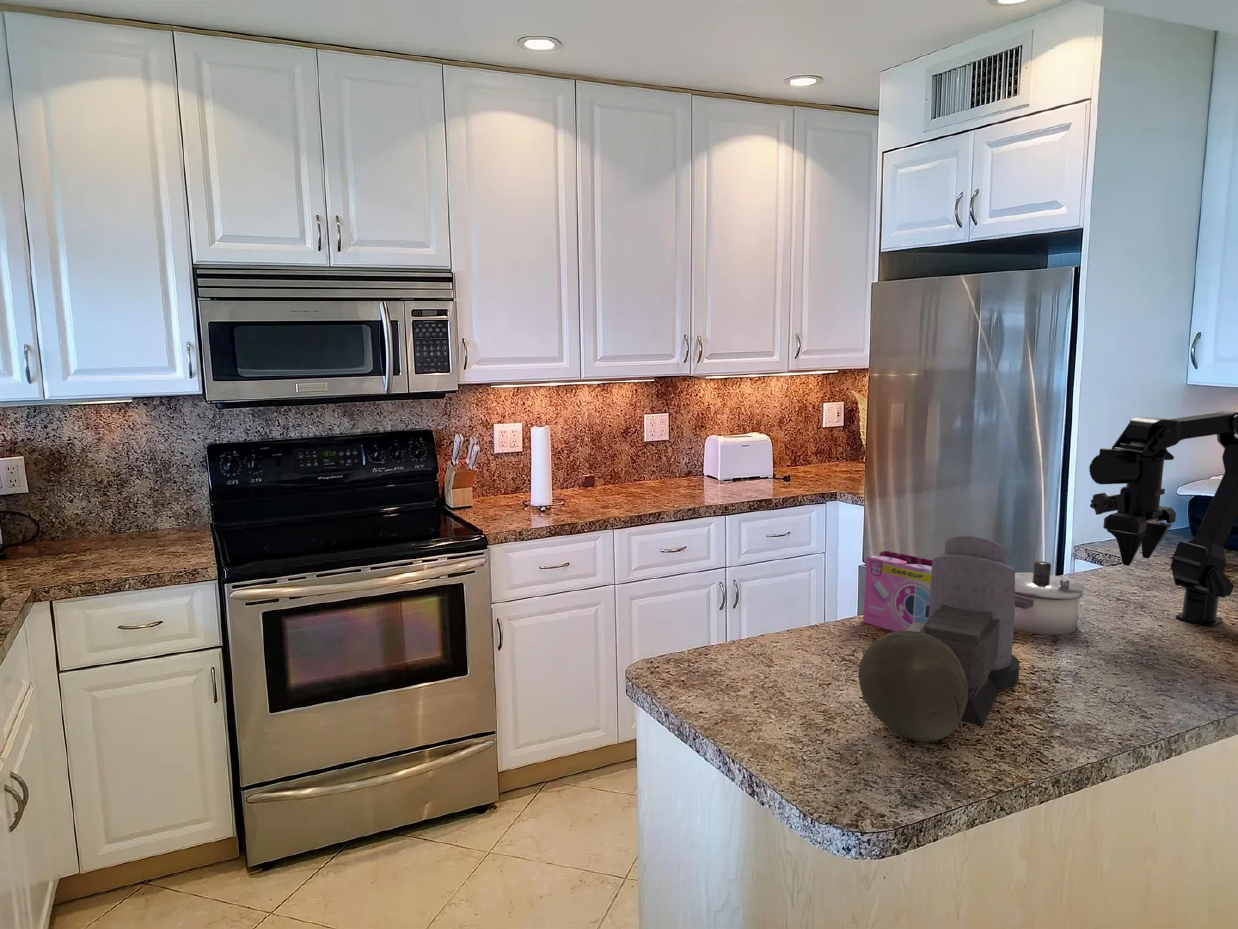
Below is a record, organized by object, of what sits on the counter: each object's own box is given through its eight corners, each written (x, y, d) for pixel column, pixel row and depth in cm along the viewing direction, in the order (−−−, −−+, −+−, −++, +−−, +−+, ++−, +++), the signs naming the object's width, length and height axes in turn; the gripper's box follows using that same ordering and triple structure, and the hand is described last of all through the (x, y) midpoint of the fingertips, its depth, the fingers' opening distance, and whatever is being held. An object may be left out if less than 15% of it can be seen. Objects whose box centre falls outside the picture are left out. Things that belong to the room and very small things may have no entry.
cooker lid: (1022, 574, 178) (1024, 550, 177) (1097, 590, 166) (1099, 565, 165) (984, 586, 169) (986, 561, 168) (1060, 605, 157) (1063, 577, 156)
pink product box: (855, 621, 169) (858, 555, 167) (876, 613, 174) (879, 548, 172) (973, 654, 152) (978, 580, 150) (992, 643, 157) (998, 572, 155)
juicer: (929, 646, 155) (937, 515, 152) (1025, 664, 147) (1036, 526, 143) (886, 705, 130) (895, 550, 127) (999, 731, 122) (1011, 565, 118)
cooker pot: (1026, 604, 180) (1029, 572, 179) (1095, 622, 169) (1099, 588, 168) (978, 623, 168) (980, 588, 167) (1049, 643, 157) (1052, 606, 156)
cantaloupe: (938, 714, 127) (944, 618, 124) (981, 761, 113) (989, 653, 110) (845, 715, 126) (849, 618, 124) (876, 762, 112) (882, 653, 110)
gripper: (1119, 473, 175) (1112, 546, 177) (1078, 481, 164) (1071, 560, 166) (1180, 480, 166) (1172, 557, 169) (1141, 490, 155) (1133, 572, 157)
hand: (1136, 561), depth 165 cm, fingers open, 9 cm apart
